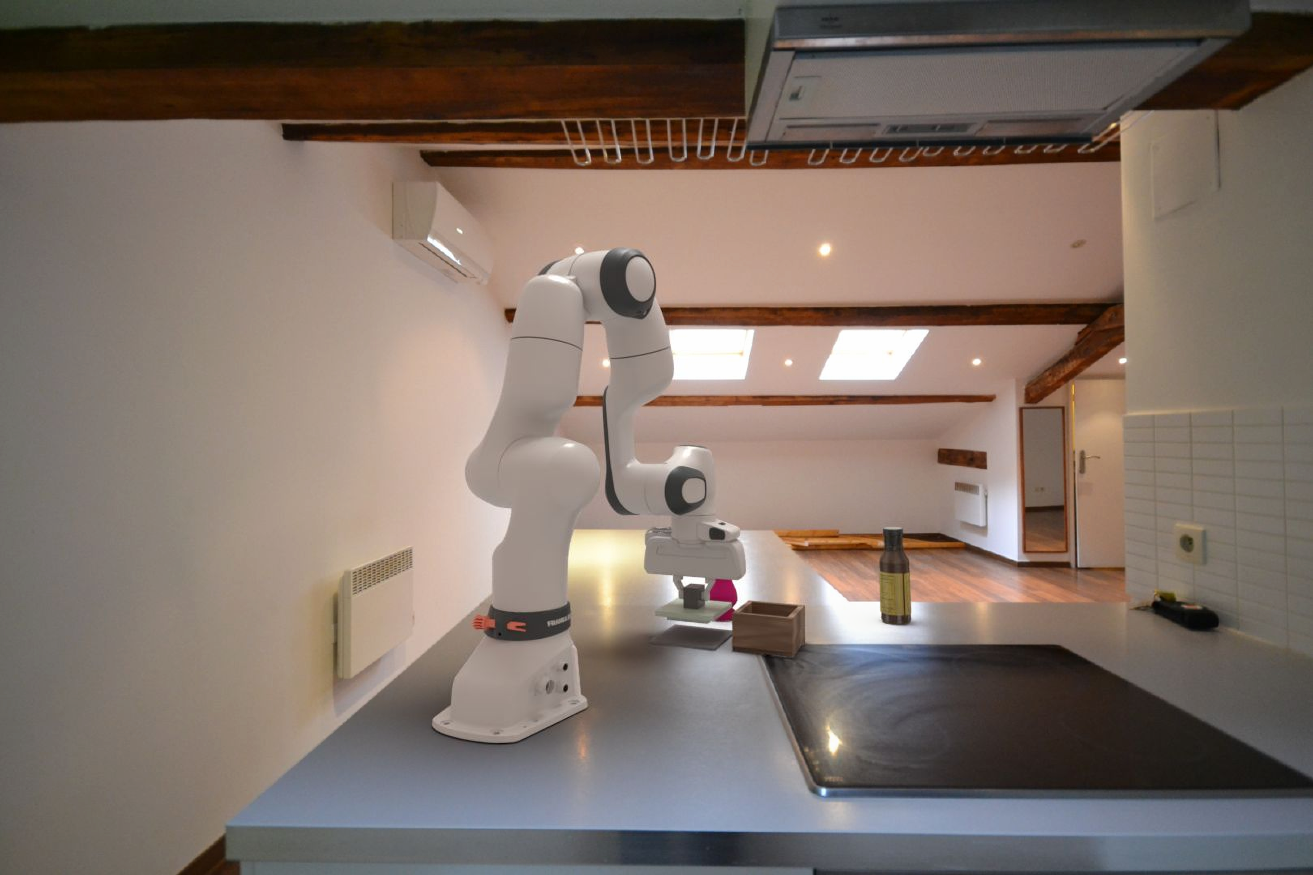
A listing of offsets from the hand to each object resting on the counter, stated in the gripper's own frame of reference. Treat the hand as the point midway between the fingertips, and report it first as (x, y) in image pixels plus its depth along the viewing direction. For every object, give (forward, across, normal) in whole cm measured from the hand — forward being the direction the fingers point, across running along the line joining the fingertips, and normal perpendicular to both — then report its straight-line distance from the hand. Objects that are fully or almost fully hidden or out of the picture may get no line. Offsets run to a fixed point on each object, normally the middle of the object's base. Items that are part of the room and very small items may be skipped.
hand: (694, 599), depth 137 cm
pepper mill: (+8, 0, +17) cm, 19 cm away
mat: (+8, 0, 0) cm, 8 cm away
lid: (+3, 0, 0) cm, 3 cm away
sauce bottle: (+8, +35, +28) cm, 45 cm away
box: (+8, +15, 0) cm, 17 cm away
